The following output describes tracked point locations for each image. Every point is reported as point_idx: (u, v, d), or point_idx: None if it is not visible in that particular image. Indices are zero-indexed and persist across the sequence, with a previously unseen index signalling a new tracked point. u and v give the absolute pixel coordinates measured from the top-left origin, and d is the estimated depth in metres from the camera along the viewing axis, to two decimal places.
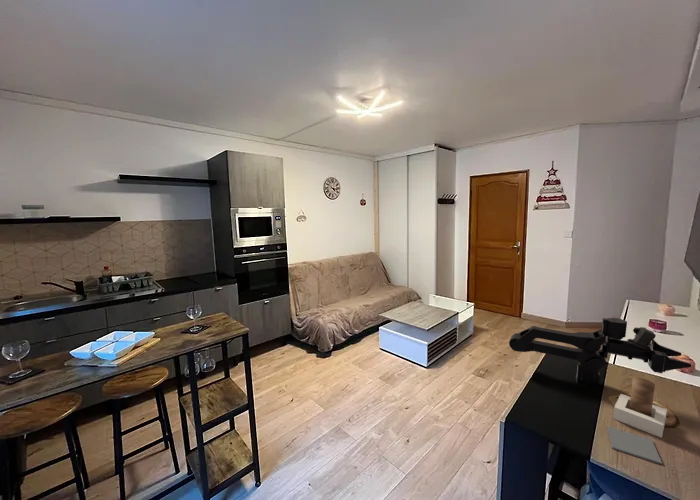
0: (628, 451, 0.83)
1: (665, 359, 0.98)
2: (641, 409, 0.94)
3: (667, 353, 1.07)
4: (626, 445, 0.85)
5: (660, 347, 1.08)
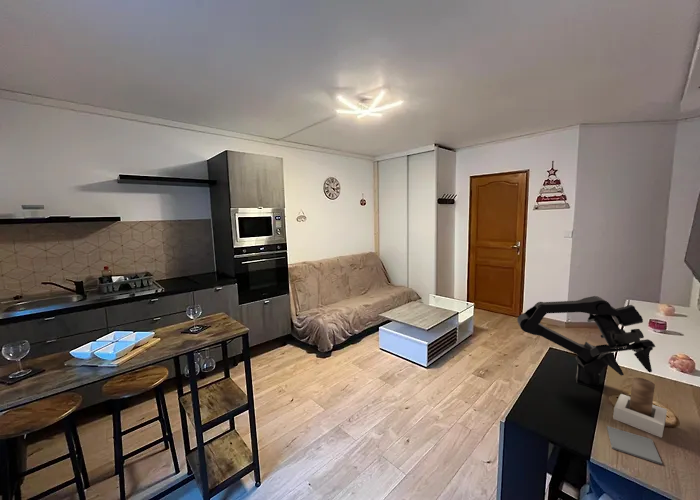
0: (628, 451, 0.83)
1: (603, 355, 1.05)
2: (641, 409, 0.94)
3: (643, 362, 1.04)
4: (626, 445, 0.85)
5: (643, 355, 1.04)
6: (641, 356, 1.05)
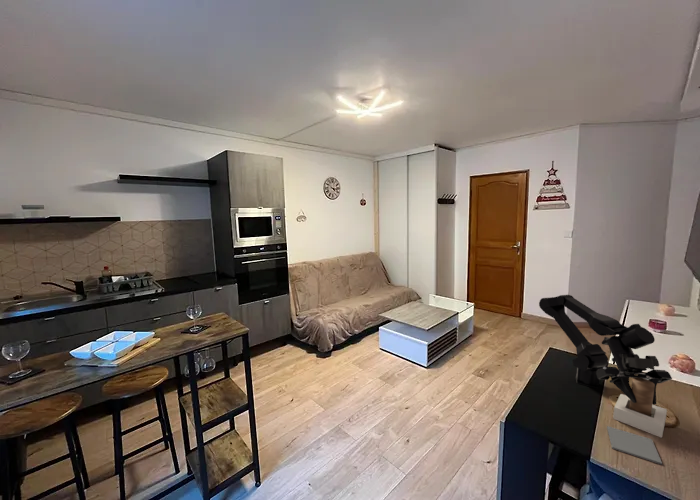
0: (628, 451, 0.83)
1: (616, 377, 0.98)
2: (641, 409, 0.94)
3: None
4: (626, 445, 0.85)
5: None
6: None
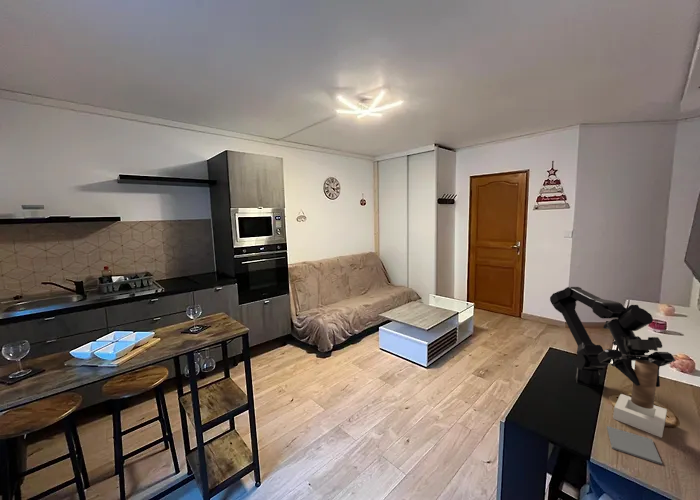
0: (628, 451, 0.83)
1: (619, 360, 0.94)
2: (644, 391, 0.91)
3: None
4: (626, 445, 0.85)
5: None
6: None
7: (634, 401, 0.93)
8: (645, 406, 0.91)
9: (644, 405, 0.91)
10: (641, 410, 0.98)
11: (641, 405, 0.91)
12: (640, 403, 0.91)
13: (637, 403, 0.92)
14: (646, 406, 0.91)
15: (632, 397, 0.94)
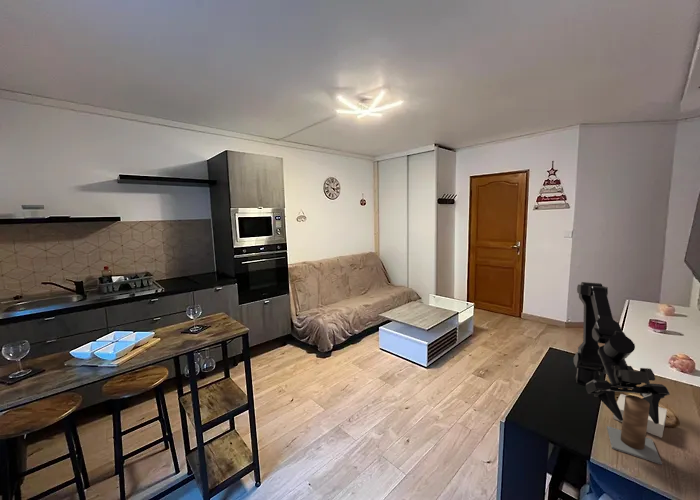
0: (628, 451, 0.83)
1: (601, 392, 0.88)
2: (634, 431, 0.83)
3: (649, 410, 0.85)
4: (626, 445, 0.85)
5: (651, 402, 0.85)
6: None
7: (623, 440, 0.86)
8: (635, 447, 0.84)
9: (634, 445, 0.84)
10: None
11: (631, 445, 0.84)
12: (630, 443, 0.84)
13: (626, 443, 0.85)
14: (636, 447, 0.84)
15: (621, 435, 0.87)
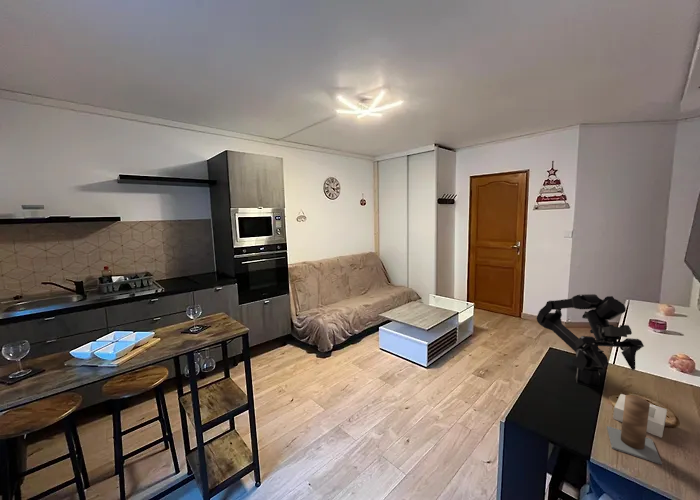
0: (628, 451, 0.83)
1: (587, 345, 1.05)
2: (634, 431, 0.83)
3: (628, 360, 1.03)
4: (626, 445, 0.85)
5: (629, 353, 1.03)
6: (627, 354, 1.04)
7: (623, 440, 0.86)
8: (635, 446, 0.84)
9: (634, 445, 0.84)
10: None
11: (631, 445, 0.84)
12: (629, 443, 0.84)
13: (626, 442, 0.85)
14: (636, 446, 0.84)
15: (621, 435, 0.87)
